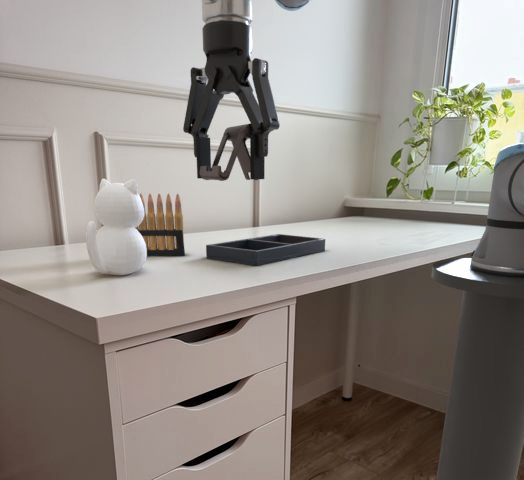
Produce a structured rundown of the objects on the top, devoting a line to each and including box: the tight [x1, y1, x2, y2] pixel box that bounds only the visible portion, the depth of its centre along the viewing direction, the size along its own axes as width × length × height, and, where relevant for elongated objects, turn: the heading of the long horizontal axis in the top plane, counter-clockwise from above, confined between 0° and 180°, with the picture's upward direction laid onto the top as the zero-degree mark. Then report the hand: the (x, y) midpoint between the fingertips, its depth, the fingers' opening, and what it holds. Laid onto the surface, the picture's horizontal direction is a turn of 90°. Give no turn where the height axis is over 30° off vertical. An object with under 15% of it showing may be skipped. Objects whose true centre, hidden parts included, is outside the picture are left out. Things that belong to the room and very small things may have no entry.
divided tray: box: [205, 233, 326, 267], centre depth 107 cm, size 13×24×3 cm, turn 143°
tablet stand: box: [200, 123, 259, 182], centre depth 84 cm, size 9×8×8 cm
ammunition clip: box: [135, 193, 186, 257], centre depth 102 cm, size 11×2×12 cm, turn 98°
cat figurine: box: [85, 178, 148, 276], centre depth 84 cm, size 9×12×15 cm
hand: (229, 178), depth 85 cm, fingers closed on tablet stand, 11 cm apart
